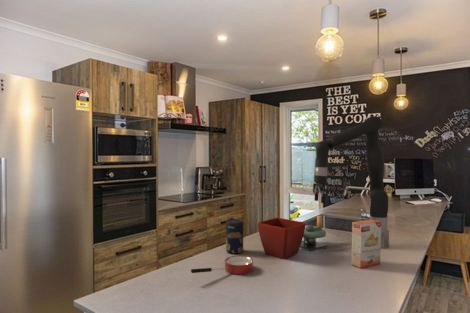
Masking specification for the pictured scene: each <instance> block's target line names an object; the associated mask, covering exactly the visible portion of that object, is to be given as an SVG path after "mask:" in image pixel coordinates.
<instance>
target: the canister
mask: <svg viewBox="0 0 470 313" xmlns="http://www.w3.org/2000/svg"><path fill="white" fill-rule="evenodd" d="M225 251H226V252H227V253H230V254H240V253H243V251H244V222H243V221H242V220H241V219H235V218H234V219H229V220H228V219H227V220H226V222H225Z"/></svg>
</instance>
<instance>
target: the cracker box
mask: <svg viewBox="0 0 470 313" xmlns="http://www.w3.org/2000/svg"><path fill="white" fill-rule="evenodd" d="M351 224H352V225H351V229H352V230H351V265H352V266H354V267H356V268H359V269H363V268H367V267H372V266H377V265H380V264H381V249H382V248H381V222H380V221H376V220H370V219H366V220H359V221H352V223H351Z"/></svg>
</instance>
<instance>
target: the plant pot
mask: <svg viewBox="0 0 470 313" xmlns="http://www.w3.org/2000/svg"><path fill="white" fill-rule="evenodd" d="M306 223H307V222H304V221H303V222H302V221H298V220H294V219H293V220H292V219H287V218H282V217H281V218H280V217H274V218H270V219H267V220H263V221H258V222H257V230H258V234H259V238H260V242H261V245H262V248H263V250H264V251H263V252H264V254H266V255H269V256H272V257H276V258H279V259H283V260H286V259H289V258H290V257H293V256H295V255H297V254H299V251H300V249H301V248H300V245H301V242H302V241H303V240H304V237H303V235H304V231H305V227H306V225H307V224H306Z"/></svg>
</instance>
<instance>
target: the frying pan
mask: <svg viewBox="0 0 470 313" xmlns="http://www.w3.org/2000/svg"><path fill="white" fill-rule="evenodd" d="M253 270H254V259H253V258H251V257H250V256H246V255H245V256H244V255H232V256H228V257H226V258H225V259H224V267H223V266H222V267H205V268H191V270H190V273H192V274H196V273H197V274H198V273H199V274H200V273H211V272H215V271H225V272H227V273H228V274H232V275H239V276H240V275H242V276H243V275H247V274H250V273H252V272H253Z"/></svg>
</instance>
